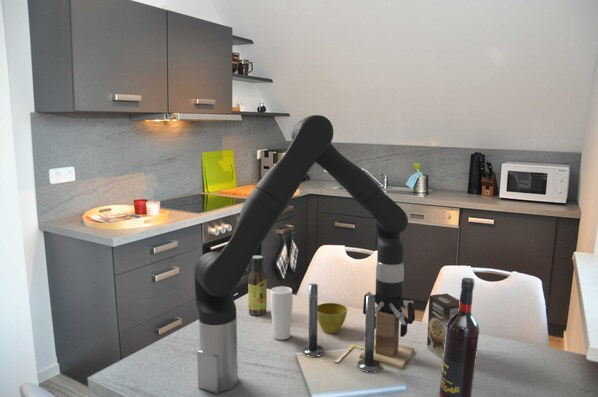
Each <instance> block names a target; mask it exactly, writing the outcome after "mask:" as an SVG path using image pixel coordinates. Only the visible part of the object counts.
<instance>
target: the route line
mask: <svg viewBox="0 0 598 397" xmlns="http://www.w3.org/2000/svg"><path fill="white" fill-rule="evenodd" d="M354 348H355V349H359V350H363V349H365V346H362V345H357V344H350V345H349V347H348V348H346V349H345V351H350V350H351V349H352V350H353V349H354ZM352 350H351V351H352ZM351 351H350V352H351Z"/></svg>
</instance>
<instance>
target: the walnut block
mask: <svg viewBox="0 0 598 397" xmlns="http://www.w3.org/2000/svg"><path fill="white" fill-rule="evenodd" d="M375 316H376V329H375V339H376V350H375V354H379V355H383V356H387V357H391V358H393V357H394V355H395V354H396V353H397V351H398V345H399V342H400V341H399V337H400V320H399V319H398V318H397V317H396V315H395V314H390V313H385V312H382V311H381V310H379V311H378V312H377V313H376V314H375Z"/></svg>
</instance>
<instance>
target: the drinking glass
mask: <svg viewBox="0 0 598 397" xmlns="http://www.w3.org/2000/svg"><path fill="white" fill-rule="evenodd" d="M269 294H270V295H269V296H270V297H269V298H270V299H269V301H270V302H269V303H270V304H269V305H270V313H271V314H270V315H271V324H272V326H271V327H272V337H273V338H274V339H275V340H278V341H284V340H287V339H289V338H290V337H291V324H292V313H293V312H292V311H293V298H294V297H293V296H294V295H293V289H292V288H291V287H288V286H283V285H282V286H281V285H280V286H275V287H272V288H271V289H270V293H269Z"/></svg>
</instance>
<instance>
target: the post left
mask: <svg viewBox="0 0 598 397" xmlns="http://www.w3.org/2000/svg"><path fill="white" fill-rule="evenodd" d="M318 285H319V284H318V283H309V285H308V345H305V346H303V347H302V354H303V353H304V354H305V355H309V356H317V355H321V354H322V355H324V348H323V347H322V346H321V345H319V344H318V319H317V310H318V305H319V304H318V300H319V299H318V297H319V296H318V295H319V294H318V287H319V286H318ZM304 354H303V355H304ZM305 355H304V356H305ZM322 355H321V356H322Z"/></svg>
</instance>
